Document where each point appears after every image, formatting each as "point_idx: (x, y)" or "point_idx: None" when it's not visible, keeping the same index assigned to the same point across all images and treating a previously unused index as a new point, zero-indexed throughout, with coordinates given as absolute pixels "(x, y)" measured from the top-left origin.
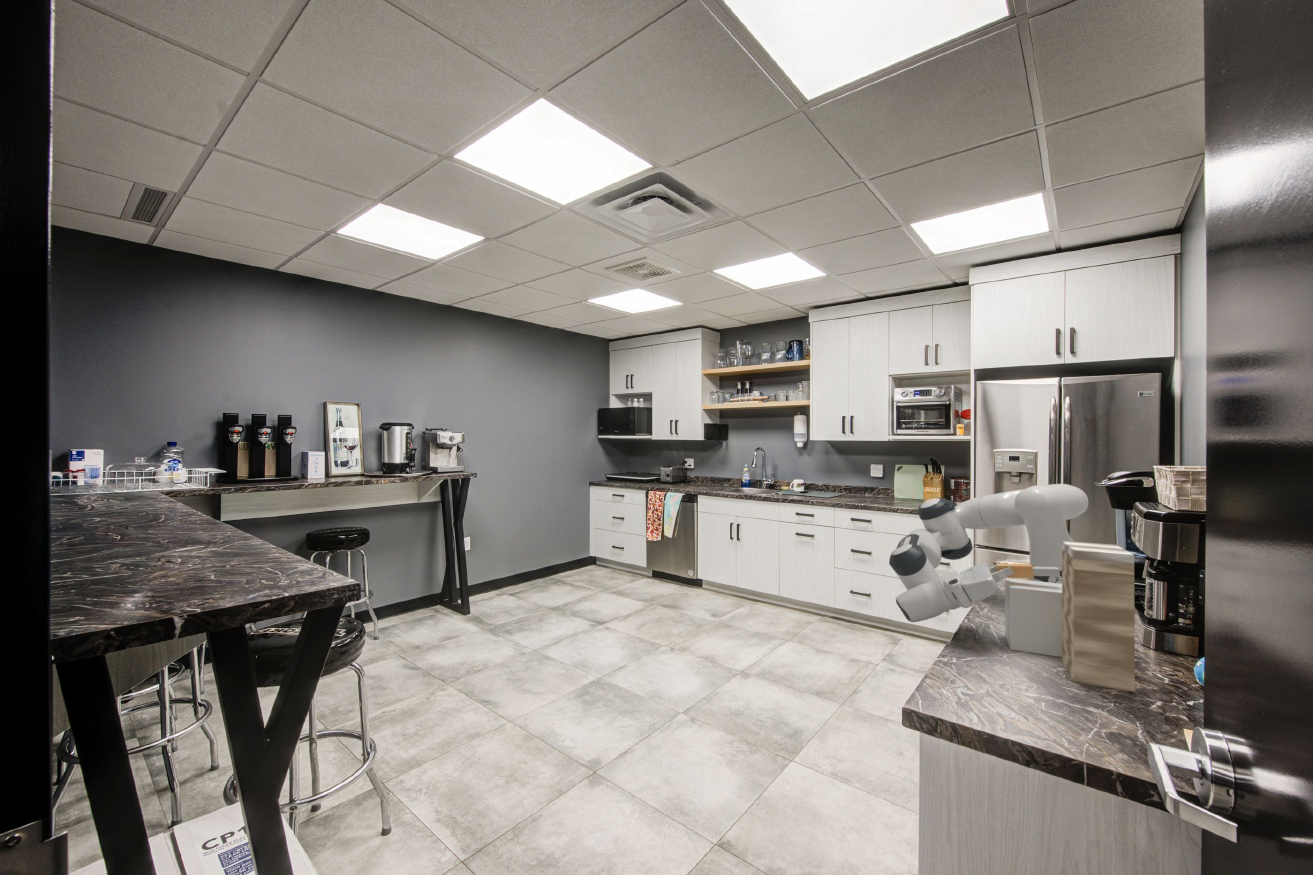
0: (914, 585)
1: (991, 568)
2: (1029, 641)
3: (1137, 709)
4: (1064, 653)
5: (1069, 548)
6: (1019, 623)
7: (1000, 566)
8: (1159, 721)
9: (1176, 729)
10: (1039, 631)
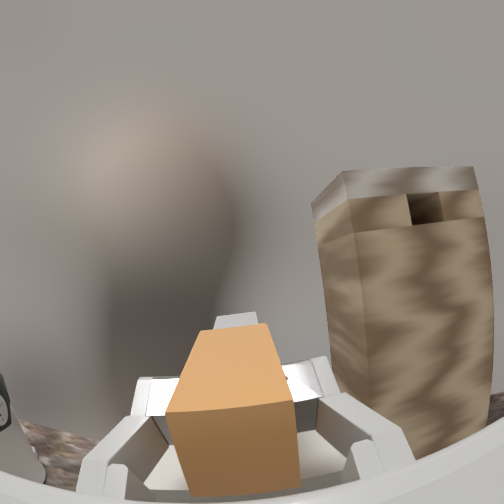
0: None
1: (127, 486)
2: None
3: (487, 418)
4: None
5: (434, 171)
6: None
7: (289, 392)
8: (497, 403)
9: (500, 394)
10: None
